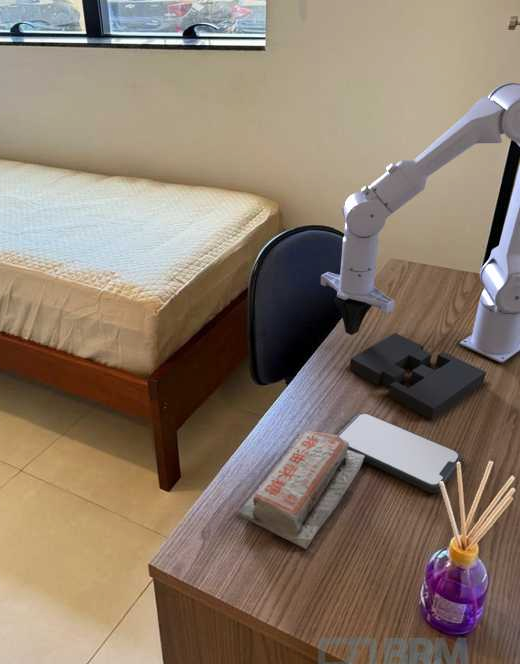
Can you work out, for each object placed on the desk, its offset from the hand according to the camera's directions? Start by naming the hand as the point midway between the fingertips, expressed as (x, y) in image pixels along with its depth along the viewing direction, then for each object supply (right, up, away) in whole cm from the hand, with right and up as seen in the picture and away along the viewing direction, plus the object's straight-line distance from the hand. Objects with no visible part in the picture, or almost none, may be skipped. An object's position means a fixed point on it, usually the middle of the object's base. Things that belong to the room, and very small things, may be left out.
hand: (352, 331), depth 110 cm
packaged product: (-14, -22, -27) cm, 37 cm away
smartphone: (0, -18, -22) cm, 29 cm away
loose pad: (+6, -6, -5) cm, 9 cm away
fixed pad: (+11, -10, -11) cm, 18 cm away
